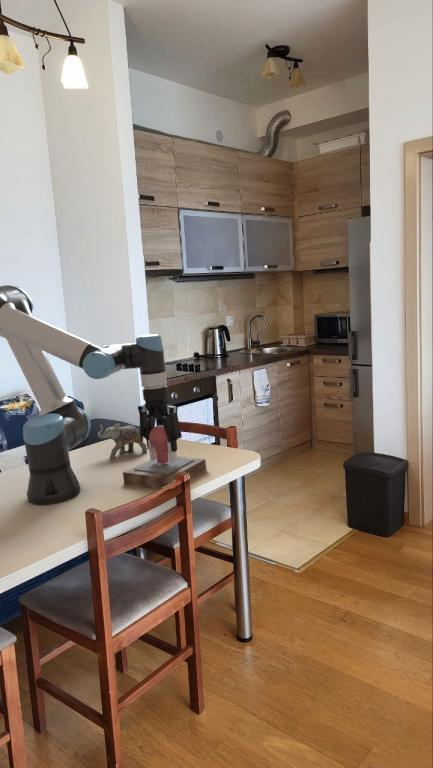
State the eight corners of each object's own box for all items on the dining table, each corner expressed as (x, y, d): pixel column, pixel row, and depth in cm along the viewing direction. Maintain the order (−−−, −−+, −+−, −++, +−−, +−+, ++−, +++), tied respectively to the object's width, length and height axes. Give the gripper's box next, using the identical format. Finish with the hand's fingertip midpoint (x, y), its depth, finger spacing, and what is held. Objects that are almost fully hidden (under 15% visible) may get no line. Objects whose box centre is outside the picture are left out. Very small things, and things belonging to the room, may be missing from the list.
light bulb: (177, 459, 179) (173, 421, 176) (173, 466, 172) (169, 427, 170) (154, 460, 179) (150, 423, 177) (150, 468, 172) (145, 429, 170)
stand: (124, 483, 174) (122, 470, 173) (161, 465, 188) (160, 453, 188) (170, 490, 164) (169, 476, 163) (206, 470, 178) (205, 457, 178)
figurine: (113, 461, 211) (99, 422, 210) (150, 449, 210) (136, 410, 209) (107, 467, 202) (92, 427, 200) (145, 454, 200) (131, 414, 199)
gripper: (188, 384, 169) (197, 459, 173) (138, 383, 180) (146, 454, 184) (173, 389, 163) (182, 467, 167) (121, 388, 174) (131, 461, 178)
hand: (163, 460), depth 175 cm, fingers closed on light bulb, 7 cm apart
